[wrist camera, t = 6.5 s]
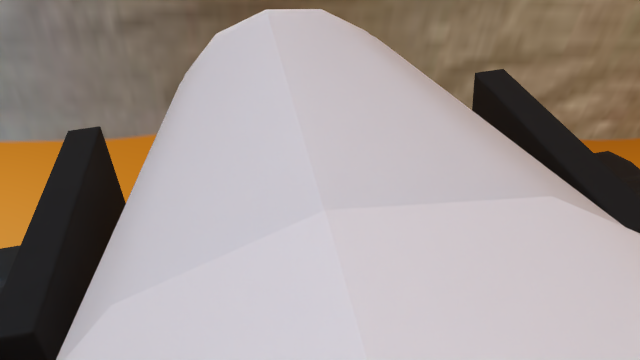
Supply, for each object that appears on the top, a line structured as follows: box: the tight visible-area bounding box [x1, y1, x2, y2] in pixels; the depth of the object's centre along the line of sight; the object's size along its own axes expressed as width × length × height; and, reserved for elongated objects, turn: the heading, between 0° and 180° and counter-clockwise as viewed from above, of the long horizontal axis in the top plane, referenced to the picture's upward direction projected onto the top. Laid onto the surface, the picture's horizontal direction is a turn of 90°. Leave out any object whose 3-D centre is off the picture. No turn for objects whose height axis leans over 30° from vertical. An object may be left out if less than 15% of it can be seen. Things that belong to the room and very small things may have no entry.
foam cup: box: [56, 9, 640, 360], centre depth 11 cm, size 10×9×13 cm
